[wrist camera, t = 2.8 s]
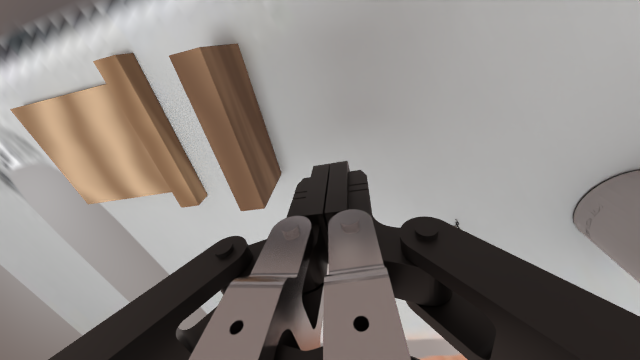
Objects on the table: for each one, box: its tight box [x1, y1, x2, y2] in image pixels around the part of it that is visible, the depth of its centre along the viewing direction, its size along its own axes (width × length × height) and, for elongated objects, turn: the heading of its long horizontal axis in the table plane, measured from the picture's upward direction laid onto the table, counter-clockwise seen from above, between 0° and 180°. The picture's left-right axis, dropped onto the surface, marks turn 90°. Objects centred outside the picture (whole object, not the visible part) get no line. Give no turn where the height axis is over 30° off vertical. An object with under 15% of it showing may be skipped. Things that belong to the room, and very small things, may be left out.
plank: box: [169, 44, 281, 211], centre depth 24 cm, size 2×14×7 cm, turn 12°
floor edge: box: [10, 53, 207, 208], centre depth 29 cm, size 16×17×2 cm
